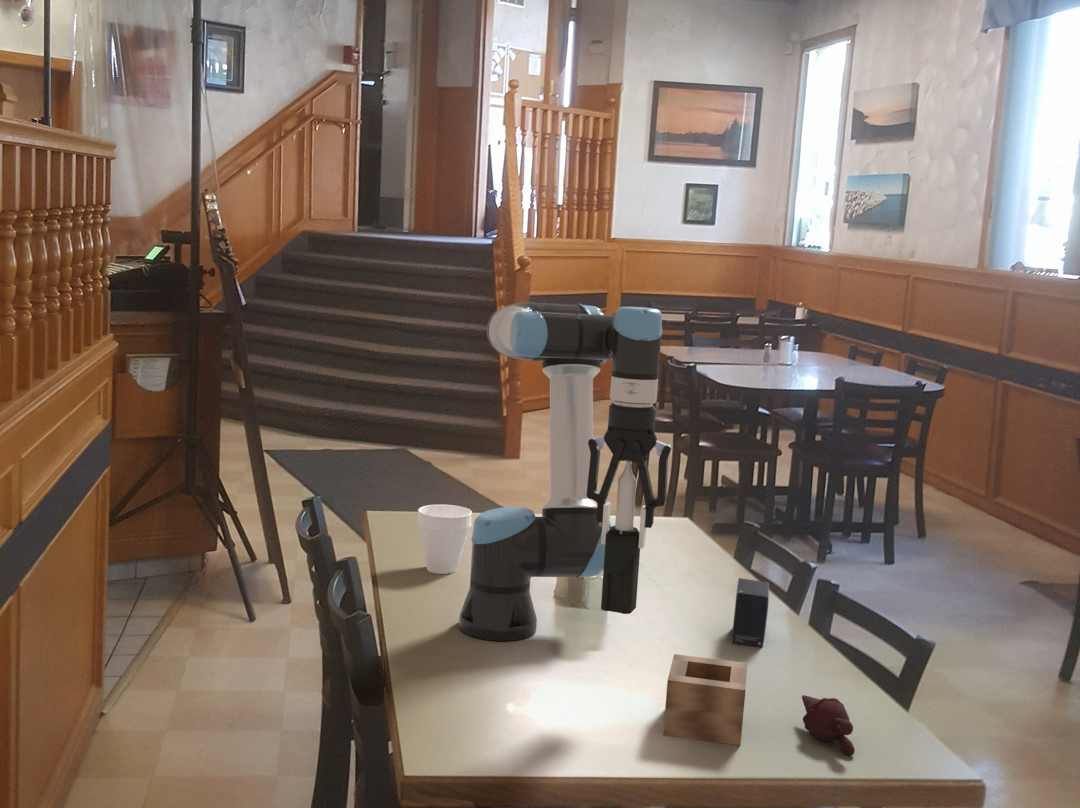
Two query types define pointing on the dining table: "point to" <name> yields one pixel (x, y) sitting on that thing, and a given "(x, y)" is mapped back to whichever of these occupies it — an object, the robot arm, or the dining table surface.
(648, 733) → the dining table surface
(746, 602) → the small box
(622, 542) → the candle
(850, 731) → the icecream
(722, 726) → the well block
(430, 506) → the cup
